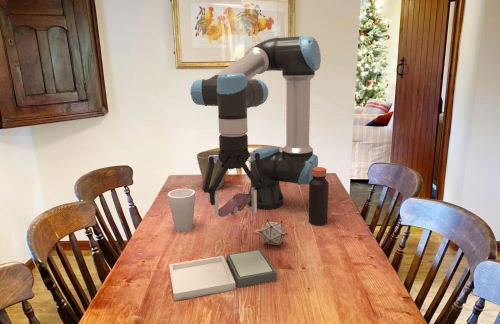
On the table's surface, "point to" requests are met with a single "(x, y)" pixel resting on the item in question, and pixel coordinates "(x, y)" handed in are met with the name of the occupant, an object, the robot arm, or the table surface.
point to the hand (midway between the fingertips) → (235, 213)
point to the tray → (200, 277)
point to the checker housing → (255, 278)
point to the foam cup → (182, 208)
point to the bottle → (318, 197)
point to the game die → (273, 233)
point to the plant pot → (203, 165)
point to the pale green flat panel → (250, 263)
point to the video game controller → (235, 204)
